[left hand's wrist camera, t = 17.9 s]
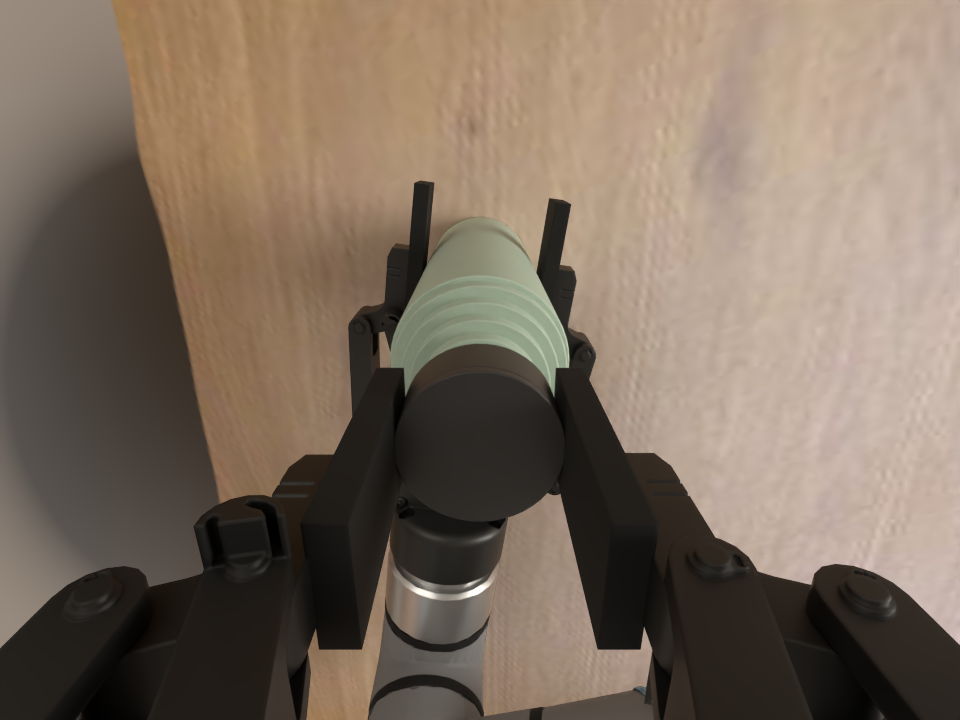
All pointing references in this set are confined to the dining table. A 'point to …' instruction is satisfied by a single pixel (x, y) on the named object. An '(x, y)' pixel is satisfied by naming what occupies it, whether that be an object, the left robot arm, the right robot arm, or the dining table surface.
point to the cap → (479, 434)
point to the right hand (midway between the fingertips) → (492, 192)
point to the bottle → (479, 302)
